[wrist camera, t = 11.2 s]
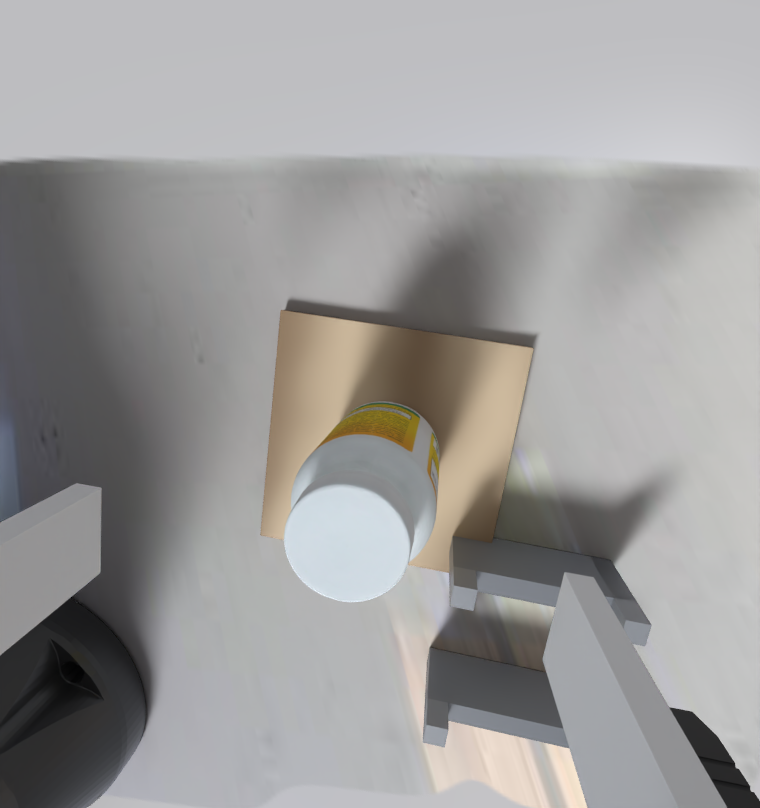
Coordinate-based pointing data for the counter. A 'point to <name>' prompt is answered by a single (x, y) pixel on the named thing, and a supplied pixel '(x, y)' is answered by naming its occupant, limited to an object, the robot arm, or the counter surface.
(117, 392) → the counter surface
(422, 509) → the supplement bottle
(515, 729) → the holder
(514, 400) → the square wooden board
